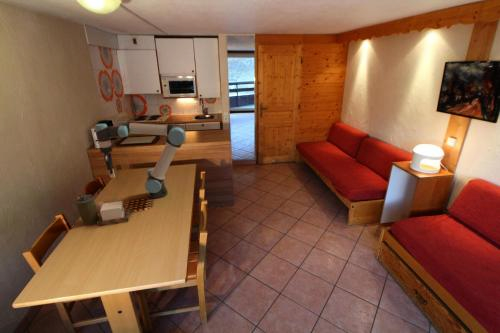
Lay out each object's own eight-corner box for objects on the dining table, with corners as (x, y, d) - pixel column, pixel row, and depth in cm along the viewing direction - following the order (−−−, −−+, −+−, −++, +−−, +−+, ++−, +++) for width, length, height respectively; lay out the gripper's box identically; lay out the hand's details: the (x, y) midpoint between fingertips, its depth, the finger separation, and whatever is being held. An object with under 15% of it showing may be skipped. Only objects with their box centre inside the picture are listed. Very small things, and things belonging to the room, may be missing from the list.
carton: (125, 214, 182) (122, 200, 177) (123, 221, 173) (120, 207, 169) (106, 216, 178) (103, 203, 174) (103, 224, 169) (100, 210, 165)
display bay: (130, 211, 185) (129, 207, 184) (128, 221, 173) (127, 217, 171) (102, 215, 180) (101, 211, 179) (98, 226, 167) (97, 222, 166)
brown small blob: (105, 207, 190) (104, 200, 188) (104, 211, 185) (102, 204, 183) (96, 208, 189) (95, 201, 186) (95, 212, 183) (93, 205, 181)
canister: (91, 226, 168) (84, 200, 160) (78, 224, 170) (70, 198, 162) (103, 217, 178) (96, 192, 170) (90, 215, 180) (83, 190, 172)
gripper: (101, 144, 178) (108, 174, 187) (97, 149, 167) (105, 181, 175) (112, 143, 180) (119, 173, 189) (109, 148, 169) (117, 180, 178)
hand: (112, 177), depth 182 cm, fingers closed
